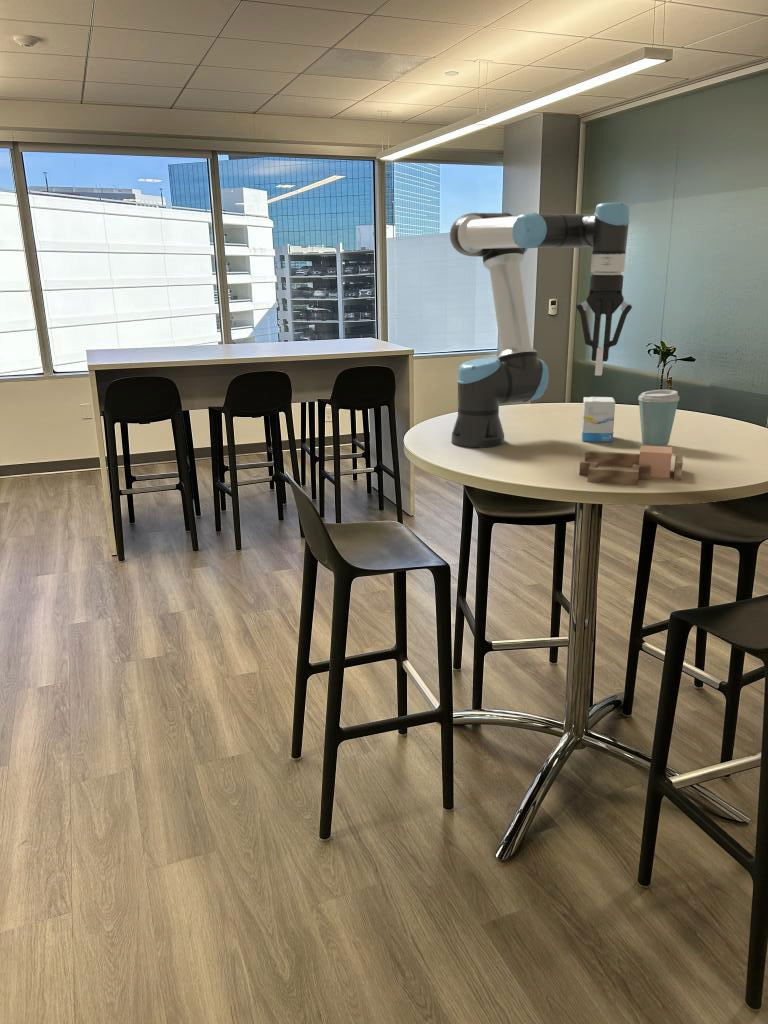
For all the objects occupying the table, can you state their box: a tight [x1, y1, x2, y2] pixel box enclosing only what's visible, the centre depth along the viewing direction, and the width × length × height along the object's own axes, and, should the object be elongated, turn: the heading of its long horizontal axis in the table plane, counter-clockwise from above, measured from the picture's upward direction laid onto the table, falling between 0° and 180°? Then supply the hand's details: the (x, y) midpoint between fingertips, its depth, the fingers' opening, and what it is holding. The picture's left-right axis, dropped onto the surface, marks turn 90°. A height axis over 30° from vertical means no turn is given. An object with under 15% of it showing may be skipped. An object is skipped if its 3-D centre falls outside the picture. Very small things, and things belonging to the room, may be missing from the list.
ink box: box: [580, 396, 616, 443], centre depth 215 cm, size 8×8×12 cm
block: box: [639, 445, 673, 479], centre depth 178 cm, size 7×7×6 cm
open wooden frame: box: [578, 450, 684, 486], centre depth 178 cm, size 23×18×4 cm
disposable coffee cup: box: [637, 389, 680, 447], centre depth 205 cm, size 11×11×15 cm
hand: (598, 374), depth 184 cm, fingers closed
